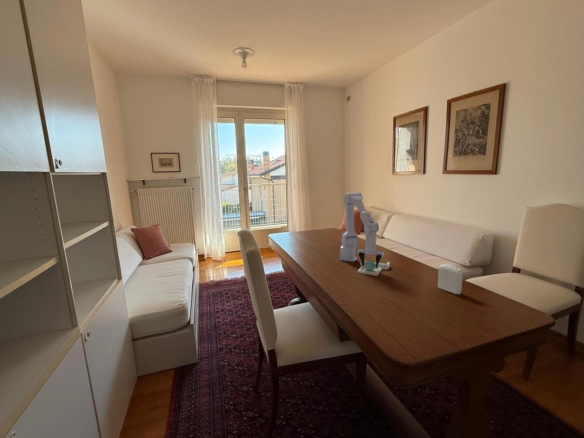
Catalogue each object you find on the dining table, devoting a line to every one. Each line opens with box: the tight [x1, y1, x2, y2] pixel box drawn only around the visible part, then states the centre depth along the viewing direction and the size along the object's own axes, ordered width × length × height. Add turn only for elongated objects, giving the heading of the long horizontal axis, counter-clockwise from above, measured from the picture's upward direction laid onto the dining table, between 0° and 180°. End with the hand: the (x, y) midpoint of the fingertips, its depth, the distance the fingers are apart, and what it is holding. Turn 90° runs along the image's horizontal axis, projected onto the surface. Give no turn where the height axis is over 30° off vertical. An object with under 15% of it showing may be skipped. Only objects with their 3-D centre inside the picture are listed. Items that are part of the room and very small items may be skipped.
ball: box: [365, 260, 375, 271], centre depth 150 cm, size 6×6×6 cm
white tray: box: [357, 265, 383, 277], centre depth 150 cm, size 11×11×1 cm
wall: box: [359, 260, 391, 271], centre depth 159 cm, size 16×6×3 cm, turn 60°
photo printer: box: [437, 263, 464, 295], centre depth 123 cm, size 10×4×12 cm, turn 26°
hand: (369, 266), depth 150 cm, fingers open, 7 cm apart
